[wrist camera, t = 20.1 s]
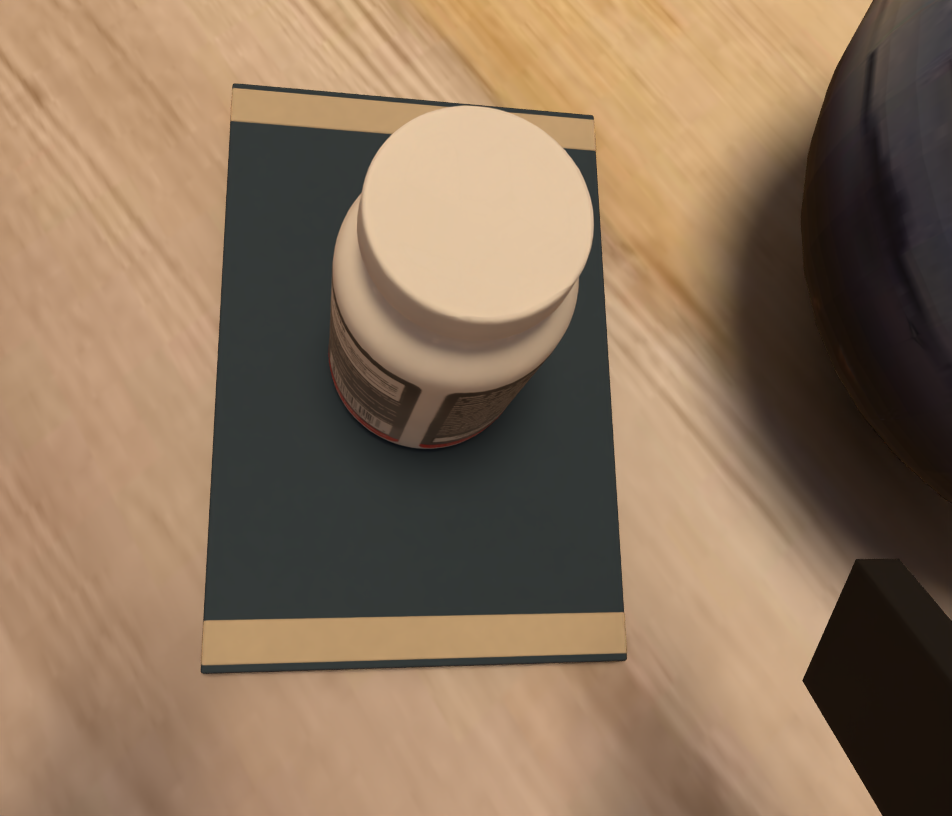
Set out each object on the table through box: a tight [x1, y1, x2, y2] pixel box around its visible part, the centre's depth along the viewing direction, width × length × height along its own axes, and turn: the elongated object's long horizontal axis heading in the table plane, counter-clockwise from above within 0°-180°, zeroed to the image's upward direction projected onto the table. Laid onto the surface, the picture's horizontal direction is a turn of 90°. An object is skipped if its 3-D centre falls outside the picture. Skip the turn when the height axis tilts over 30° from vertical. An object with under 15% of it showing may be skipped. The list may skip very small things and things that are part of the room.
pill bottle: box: [328, 106, 594, 449], centre depth 22 cm, size 6×6×10 cm
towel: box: [201, 83, 627, 674], centre depth 27 cm, size 18×12×1 cm, turn 1°
